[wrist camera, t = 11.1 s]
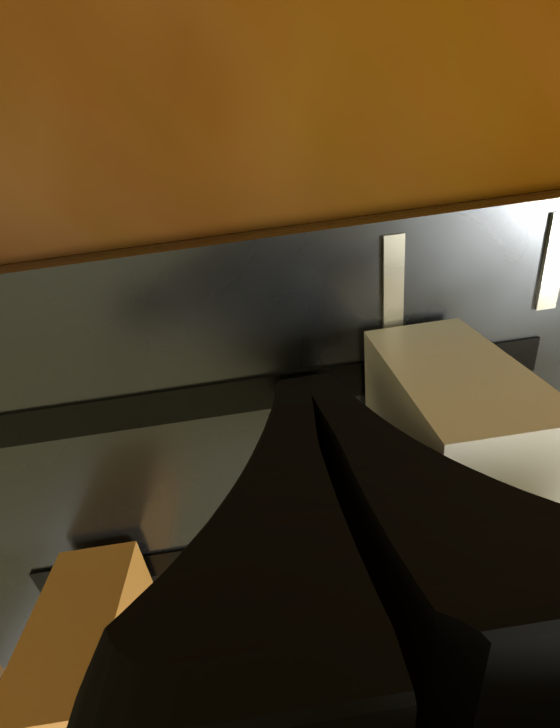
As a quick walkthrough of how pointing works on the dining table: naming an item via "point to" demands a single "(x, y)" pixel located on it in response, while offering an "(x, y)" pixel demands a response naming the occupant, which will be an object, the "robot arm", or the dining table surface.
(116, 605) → the block
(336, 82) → the dining table surface
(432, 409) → the fader
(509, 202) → the console
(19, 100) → the dining table surface
